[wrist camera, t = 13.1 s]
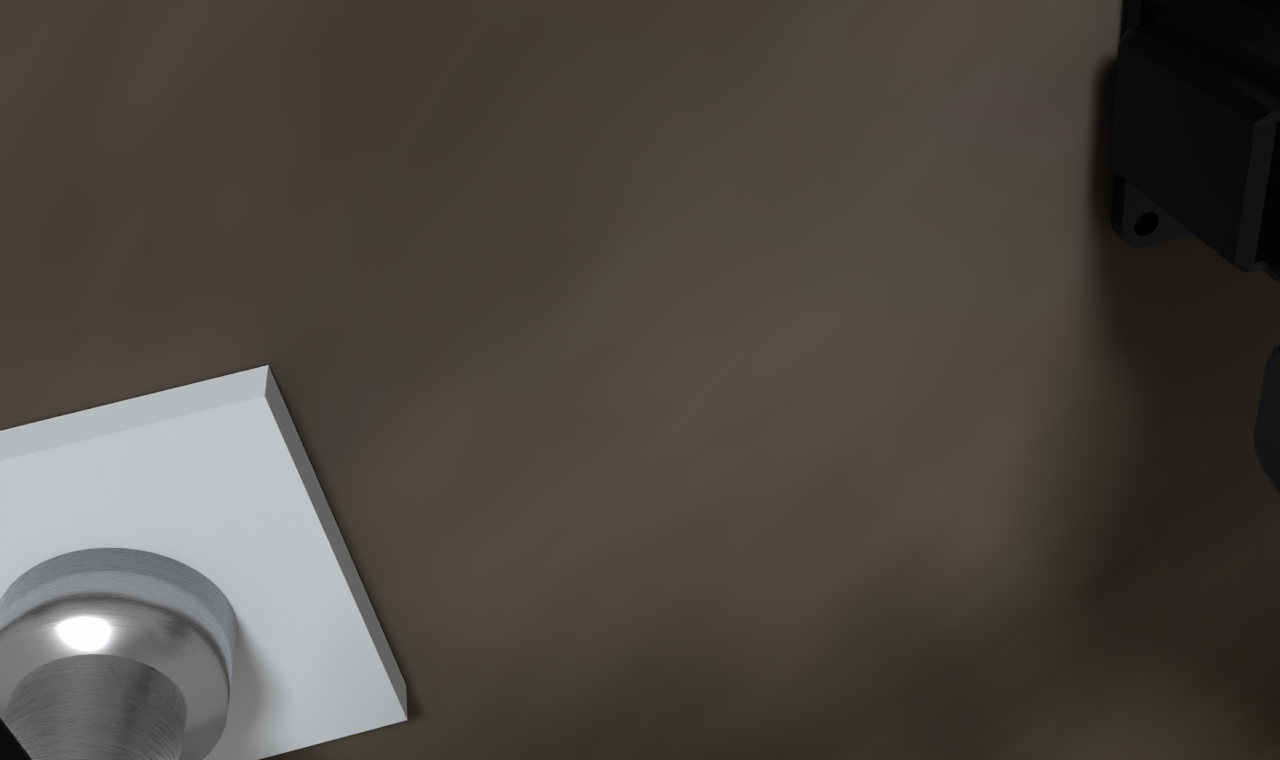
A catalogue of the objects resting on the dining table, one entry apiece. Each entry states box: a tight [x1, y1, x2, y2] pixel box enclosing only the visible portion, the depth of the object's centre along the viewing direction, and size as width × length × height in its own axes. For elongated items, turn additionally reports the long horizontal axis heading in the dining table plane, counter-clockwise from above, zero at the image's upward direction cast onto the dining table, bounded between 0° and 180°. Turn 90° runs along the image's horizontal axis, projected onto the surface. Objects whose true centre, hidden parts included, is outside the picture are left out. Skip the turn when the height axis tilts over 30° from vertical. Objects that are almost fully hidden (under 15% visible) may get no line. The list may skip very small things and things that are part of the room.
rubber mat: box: [0, 365, 407, 760], centre depth 23 cm, size 9×9×1 cm
